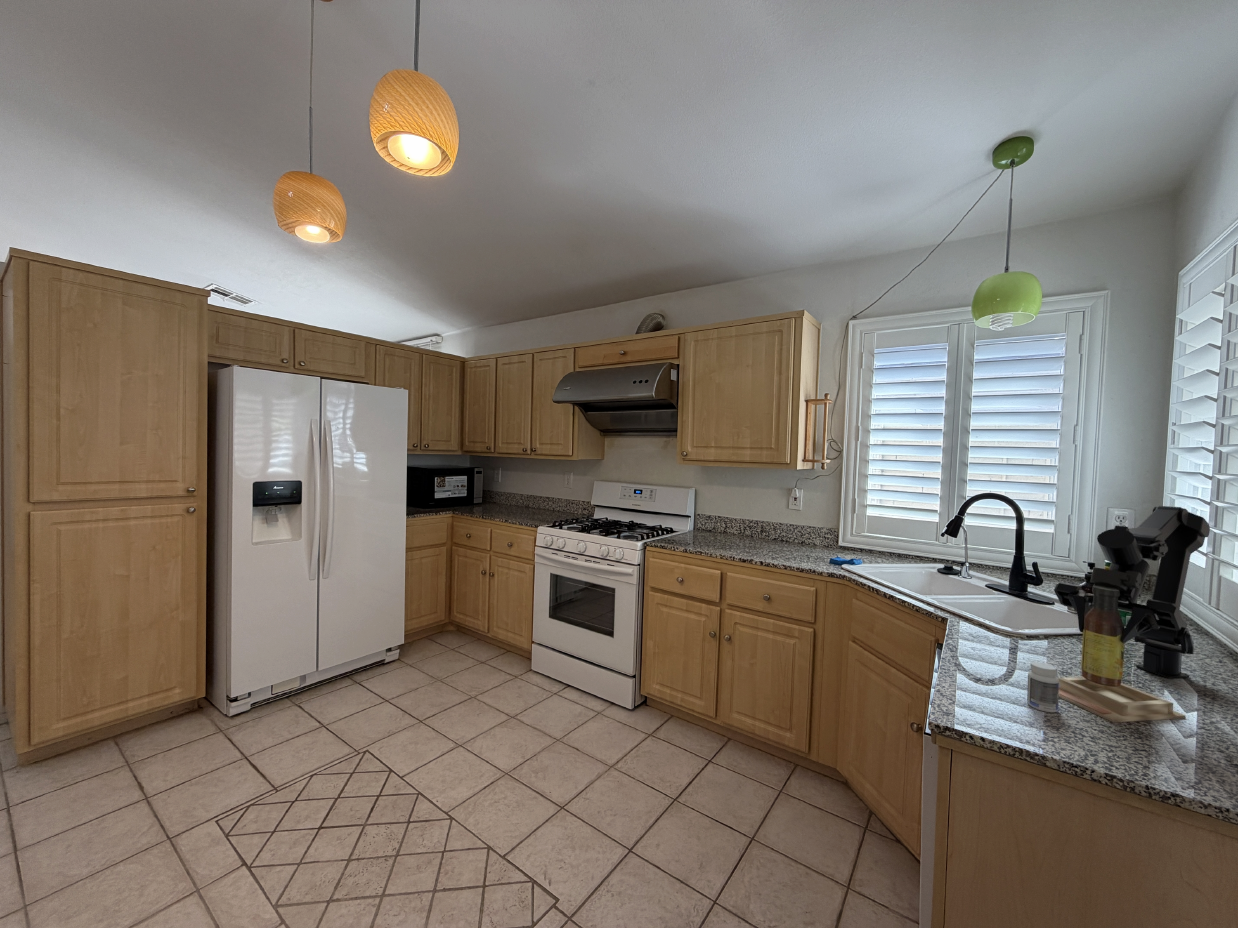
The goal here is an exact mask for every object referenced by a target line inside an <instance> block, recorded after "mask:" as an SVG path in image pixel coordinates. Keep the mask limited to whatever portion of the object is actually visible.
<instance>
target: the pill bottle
mask: <svg viewBox="0 0 1238 928" xmlns="http://www.w3.org/2000/svg"><path fill="white" fill-rule="evenodd" d="M1057 675H1058V668H1057V667H1056V666H1055V665H1052V664H1050V663H1045V662H1042V661H1040V662H1039V661H1031V662H1030V671H1028V673H1027V688H1026V689H1027V690H1026V693H1027V695H1026V700H1027V701H1026V702H1027V704H1028V705H1029V706H1030V707H1031V708H1034V709H1036V710H1039V711H1042V712H1047V713H1057V712H1058V711H1059V700H1060V699H1059V698H1060V697H1059V680H1058V678H1059V677H1057Z"/></svg>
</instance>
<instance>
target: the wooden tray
mask: <svg viewBox="0 0 1238 928" xmlns="http://www.w3.org/2000/svg"><path fill="white" fill-rule="evenodd" d="M1057 678H1058V680H1059V698H1060V699H1061V700H1064V701H1066V702H1068V703H1070V704H1073V705H1075V706H1077V707H1079V708H1081V709H1084V710H1086V711H1088V712H1090V713H1092V714H1094V715H1096V716H1098V717H1101V718H1103V719H1105V720H1106V721H1110V722H1111V723H1125V722H1128V723H1129V722H1142V721H1143V722H1145V721H1158V720H1175V719H1177V720H1178V719H1186V714H1183V713H1180V712H1177V711H1175V710H1174V702H1171V701H1169V700H1167V699H1163V698H1161V697H1159V696H1156V695H1154V694H1151V693H1148V692H1145V691H1143V690H1141V689H1138V688H1135V687H1133V686H1130V685H1128V684H1125V683H1122V682H1121V685H1120V686H1118V687H1110V686H1105V685H1100V684H1097V683H1094V682H1091V681H1089V680H1087V679H1085V678H1084V677H1083V676H1068V677H1057Z"/></svg>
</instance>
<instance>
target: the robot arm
mask: <svg viewBox="0 0 1238 928" xmlns="http://www.w3.org/2000/svg"><path fill="white" fill-rule="evenodd" d="M1210 528H1211V527H1210V524H1209V522H1208V521H1207V520H1206V519H1205V518H1204V516H1200V515H1198V514H1195V513H1192V512H1190V511H1188V510H1187V508H1183V507H1182V506H1170V505H1168V506H1166V505H1159V506H1154V507H1153V509H1152V512H1151V514H1150V515H1148V516H1147V517H1146V518H1145V519H1144V521H1143V522H1141V523H1140V524H1139V525H1138V526H1137V527H1130V528H1129V526H1127V525H1126V526H1124V525H1115V526H1114V528H1112V529H1106V530H1104V531H1103V532H1101V533H1099V534H1098V535H1097V543H1098V545H1099V547H1100V549H1101V552H1102V554H1103V556H1104V559H1105V560H1106V561H1107V562H1109V563H1110V565H1109V567H1108V569H1107V568H1101V567H1093V568H1092V572H1091V577H1090V580H1089V582H1090V583H1093V584H1094V586H1106V587H1111V588H1115V589H1118V590H1119V591H1120V596H1119V598H1118V611H1122V612H1129V613H1130V618H1129V620H1128V621H1127V623H1126V625H1125V626H1124V627H1125V629H1124V631H1123V633H1122V636H1121V639H1120V640H1121V642H1122V643H1125V644H1126V643H1127V642H1129V641H1130V640H1132V639H1133V638H1134V642H1136V643H1140V644H1143V646H1144V647H1143V652H1142V653H1143V656H1142V657H1143V658H1142V663H1141V664H1140V663H1139V664H1135V667H1136V668H1138V669H1141V670H1143V671H1146V672H1150V673H1153V674H1156V675H1159V676H1161V677H1164V678H1167V679H1179V678H1182V679H1183V678H1190V674H1188V673H1184V672H1182V662H1183V661H1182V658H1183V656H1182V655H1187V654H1188V655H1195V645H1194V641H1193V638H1192V635H1191V632H1190V631H1189V628H1188V622H1187V621H1186V619H1185V617H1184V616H1183V614H1182V613H1181V611H1180V609H1181V603H1182V599H1183V596H1184V588H1185V583H1186V580H1187V576H1188V575H1187V573H1188V569H1189V565H1190V559H1191V555H1192V554H1193V553H1194V552H1196V551H1197V550H1199V549H1200V548H1202V547H1203V546H1204V543H1205V539H1206V538H1208V537H1209V535H1210V530H1211V529H1210ZM1148 561H1153V562H1158V561H1159V565H1158V569H1157V575H1156V578H1155V583H1154V588H1153V593H1152V597H1151V598H1148V599H1147V601H1146V602H1145V604H1140V603H1137V601H1138V598H1139V597H1140V598H1142V595H1143V592H1142V588H1143V586H1144V583H1145V581H1146V578H1149V571H1150V567H1151V566H1150V564H1149V562H1148ZM1053 591H1054V594H1055V595H1056V598H1057V599H1058V601H1059V604H1060V605H1062V606H1064V607H1067V608H1072V609H1073V610H1074V611H1075V612H1077V621H1078V622H1077V623H1078V624H1077V625H1078V630H1079V632H1080V633H1082V634H1083V628H1084V618H1085V615H1086V614H1087V613H1088V612H1089V611H1090V610H1091V609H1092V608H1090V607H1091V605H1092V603H1093V595H1094V594H1093V593H1088V592H1087V591H1085V590H1083V588H1082V586H1081V585H1077V584H1072V583H1066V582H1058V583H1056V585H1055V586H1054V589H1053Z"/></svg>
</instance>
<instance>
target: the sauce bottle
mask: <svg viewBox="0 0 1238 928" xmlns="http://www.w3.org/2000/svg"><path fill="white" fill-rule="evenodd" d="M1092 594H1094V595H1093V603H1092V604H1091V605H1092V606H1091V608H1090V609H1091V610H1090V611H1089V612H1088V613H1087V614H1086V615H1085V618H1084V628H1083V633H1082V642H1081V643H1082V644H1081V661H1080V663H1081V664H1080V669H1081V675H1082V676H1081V677H1084V678H1085V679H1087V680H1089V681H1091V682H1094V683H1097V684H1100V685H1105V686H1110V687H1118V686H1120V685H1121V683H1122V679H1123V678H1124V677H1123V675H1124V674H1123V673H1124V662H1125V661H1124V659H1125V644H1126V642H1125V643H1122V642H1121V640H1120V639H1121V636H1122V633H1123V631H1124V629H1125V627H1126V626H1125V625H1124V622H1123V620H1122V617H1121V614H1120V610H1118V598H1119V596H1120V591H1119V590H1118V589H1115V588H1111V587H1106V586H1095V585H1093V586H1092Z"/></svg>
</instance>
